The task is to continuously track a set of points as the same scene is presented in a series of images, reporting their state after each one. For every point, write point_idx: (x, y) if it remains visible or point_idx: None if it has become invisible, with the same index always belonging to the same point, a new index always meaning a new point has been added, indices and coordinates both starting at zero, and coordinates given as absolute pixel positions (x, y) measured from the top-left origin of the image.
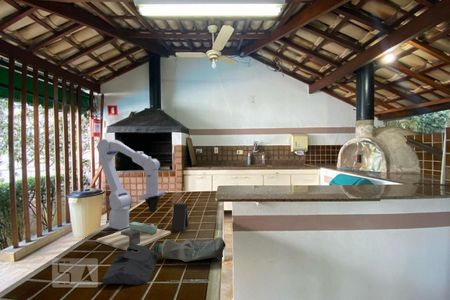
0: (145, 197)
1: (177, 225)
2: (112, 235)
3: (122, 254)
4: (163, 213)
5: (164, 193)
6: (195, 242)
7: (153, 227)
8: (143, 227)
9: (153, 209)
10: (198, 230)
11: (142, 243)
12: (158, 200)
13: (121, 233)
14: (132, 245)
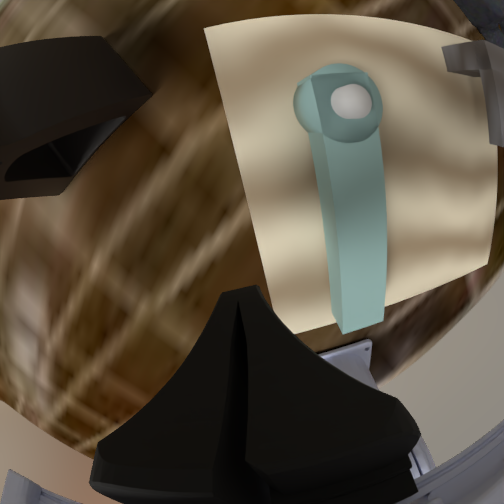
0: (484, 465)
1: (106, 66)
2: (452, 263)
3: (502, 33)
4: (86, 402)
5: (5, 485)
6: None
7: (347, 76)
8: (380, 171)
9: (262, 305)
10: (55, 6)
11: (435, 31)
12: (139, 422)
13: None
14: (501, 3)
